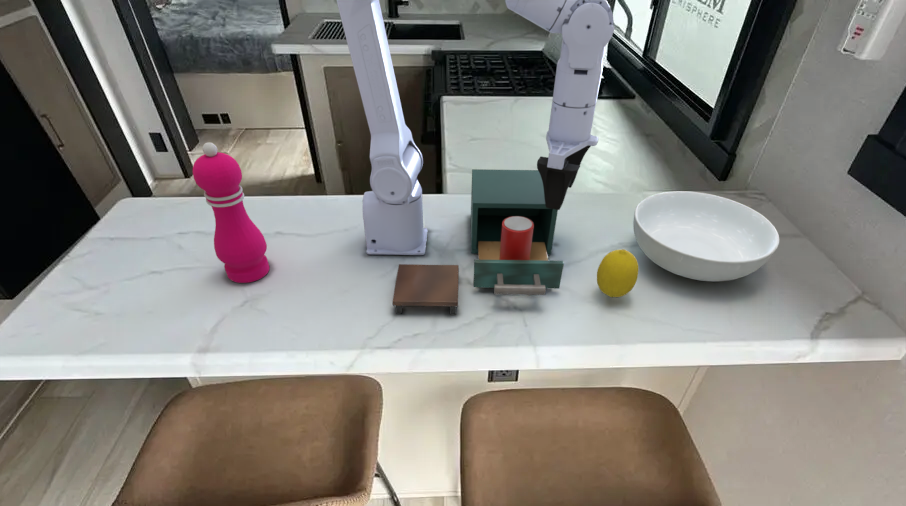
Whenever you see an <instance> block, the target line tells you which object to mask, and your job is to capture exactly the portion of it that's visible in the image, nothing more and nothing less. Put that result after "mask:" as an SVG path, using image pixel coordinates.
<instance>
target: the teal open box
mask: <svg viewBox="0 0 906 506" xmlns="http://www.w3.org/2000/svg"><path fill="white" fill-rule="evenodd" d="M470 191H471V192H470V254H478V241H496V242H501V231H502V222H503V220H504V219H506V218H508V217H512V216H521V217H525V218H528V219H530V220H531V221H532V222H533V224H534V229H533V237H532V242H545V247H546V251H547V255H552V250H553V243H554V236H555V230H556V224H557V219H558V212H559V210H556V209H550V208H546V205H545V198H544V187H543V182H542V178H541V175H540V173H539V171H538V169H481V168H480V169H479V168H478V169H477V168H475V169H471V190H470Z"/></svg>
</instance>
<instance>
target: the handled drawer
mask: <svg viewBox="0 0 906 506" xmlns="http://www.w3.org/2000/svg"><path fill="white" fill-rule="evenodd" d="M500 244H501V242H496V241H478V253H477V254H478V259H474V260H473V283H472V284H473V285H472V287H473V288H489V289H491V288H493V294H494V295H506V296H507V295H510V296H511V295H512V296H513V295H514V296H545V295H546V289H560V288H561V287H560V286H561V282H562V276H563V271H564V265H565V263H564V260H549V256H548V254H547V251H546V247H545V242H532V245H531V253H530V260H499V257H500Z"/></svg>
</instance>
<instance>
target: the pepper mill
mask: <svg viewBox="0 0 906 506" xmlns="http://www.w3.org/2000/svg"><path fill="white" fill-rule="evenodd" d="M202 152H203V154H202V155H200V156H199V157H197V159H195V161H194V163H193V165H192V177H193V179H194V182H195V184H196V185H197V186H198V187H199V188H200V189H201V190H202V191H204V192H203V196H204V198H205V202H206V204H207V205H208V206H210V207H211V209H212V211H213V215H214V218H215V219H214V222H215V225H214V226H215V227H214V228H215V229H214V234H213V235H214V236H213V247H214V252H215V255H216V258H217V259H218V260H219V261H220V262H222V263H223V264H224V266H223V267H224V270H225V273H226V276H227V278H228V279H229V280H230V281H232V282H234V283H239V284H247V283H253V282H256V281H258V280H261V279H262V278H264V277H265V276H266V275H268V273H269V272H270V264H269V261H268V258H267V256H266V255H265V254H266V252H267V248H268V245H267V241H266V239H265V237H264V235H263V233H262V231H261V230H260V229H259V227H258V226H257V225H256V224H255V223H254V222H253V220H252V219H251V218H250V216H249V214H248V213H247V209H246V208H245V206H244V205H245V204H244V201H243V200H244V198H245V193H244V191H243V187H242V185H240V184H241V182H242V179H243V172H242V169H241V167H240V164H239V163H238V161H237V160H236V159H235V158H234V157H233V156H231V155H230V154H228V153H223V152H219V151H218V147H217V146H216V144H215V143H213V142H212V141H211V142H208V141H207V142H205V143H204V144H203V145H202Z"/></svg>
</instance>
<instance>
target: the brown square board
mask: <svg viewBox="0 0 906 506" xmlns="http://www.w3.org/2000/svg"><path fill="white" fill-rule="evenodd" d="M459 268H460V266H459V264H417V263H416V264H414V263H413V264H412V263H411V264H410V263H409V264H408V263H399V264H398V266H397V274H396V278H395V284H394V290H393V296H392V306H395V314H398V315H402V314H403V307H404V306H407V307H449V309H450V310H449V315H457V307H459V277H460V276H459V274H460V273H459V272H460V271H459V270H460V269H459Z"/></svg>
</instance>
